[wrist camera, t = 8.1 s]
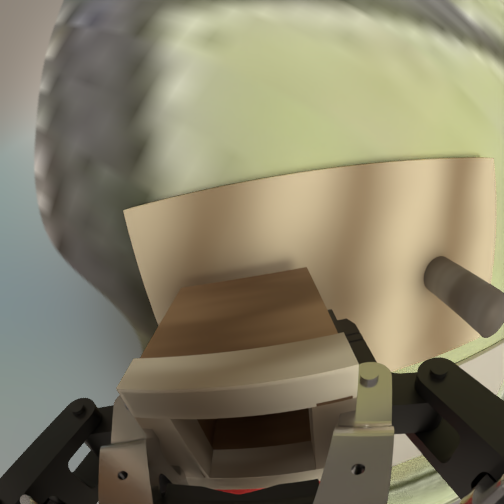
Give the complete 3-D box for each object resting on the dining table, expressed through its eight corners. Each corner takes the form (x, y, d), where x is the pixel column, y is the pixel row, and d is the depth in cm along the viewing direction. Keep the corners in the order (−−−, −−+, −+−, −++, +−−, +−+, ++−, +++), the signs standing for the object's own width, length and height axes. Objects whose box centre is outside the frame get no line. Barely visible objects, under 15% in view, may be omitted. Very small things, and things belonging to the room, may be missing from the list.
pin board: (480, 157, 12) (556, 164, 6) (471, 329, 15) (518, 376, 9) (133, 206, 13) (56, 236, 7) (195, 391, 16) (176, 467, 10)
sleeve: (308, 264, 11) (358, 364, 5) (319, 367, 12) (347, 474, 6) (178, 285, 11) (116, 388, 5) (210, 382, 12) (190, 488, 7)
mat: (519, 329, 15) (521, 331, 15) (479, 423, 19) (480, 425, 19) (375, 392, 16) (377, 396, 16) (359, 473, 20) (360, 476, 20)
